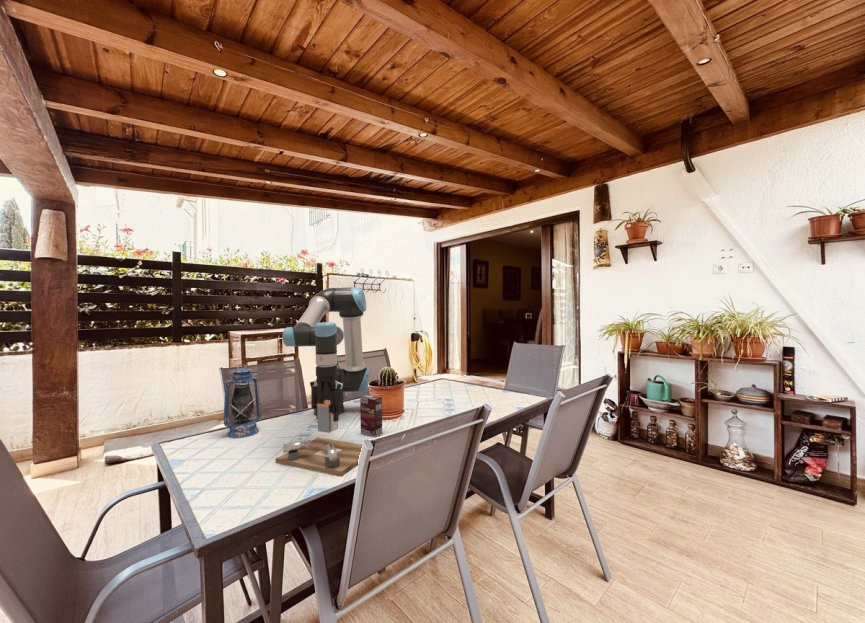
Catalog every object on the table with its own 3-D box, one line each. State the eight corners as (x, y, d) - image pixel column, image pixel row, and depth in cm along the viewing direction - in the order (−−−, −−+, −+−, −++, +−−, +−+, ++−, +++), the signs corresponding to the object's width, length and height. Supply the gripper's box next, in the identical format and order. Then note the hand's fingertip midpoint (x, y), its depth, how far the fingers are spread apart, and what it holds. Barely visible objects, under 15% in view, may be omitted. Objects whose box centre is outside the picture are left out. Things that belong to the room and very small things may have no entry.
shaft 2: (323, 459, 129) (323, 444, 129) (336, 457, 131) (336, 442, 131) (326, 470, 121) (326, 454, 121) (340, 468, 122) (340, 451, 122)
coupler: (326, 426, 139) (326, 400, 139) (338, 428, 137) (337, 401, 137) (317, 431, 134) (317, 403, 134) (329, 432, 132) (328, 404, 132)
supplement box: (360, 434, 159) (359, 397, 159) (367, 430, 163) (367, 394, 163) (375, 437, 154) (374, 399, 154) (383, 434, 158) (382, 396, 158)
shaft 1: (310, 453, 135) (310, 438, 135) (311, 457, 131) (311, 442, 131) (283, 457, 132) (283, 442, 132) (283, 462, 128) (283, 446, 128)
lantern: (230, 441, 152) (228, 368, 151) (218, 434, 160) (216, 365, 159) (267, 431, 164) (265, 363, 163) (255, 425, 172) (253, 360, 171)
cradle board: (317, 441, 151) (317, 436, 151) (377, 450, 140) (377, 446, 140) (275, 462, 131) (275, 457, 131) (341, 476, 120) (341, 470, 120)
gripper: (299, 365, 135) (300, 429, 135) (340, 368, 128) (341, 435, 128) (313, 362, 142) (314, 423, 142) (353, 364, 135) (354, 428, 135)
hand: (327, 429), depth 135 cm, fingers closed on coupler, 5 cm apart
